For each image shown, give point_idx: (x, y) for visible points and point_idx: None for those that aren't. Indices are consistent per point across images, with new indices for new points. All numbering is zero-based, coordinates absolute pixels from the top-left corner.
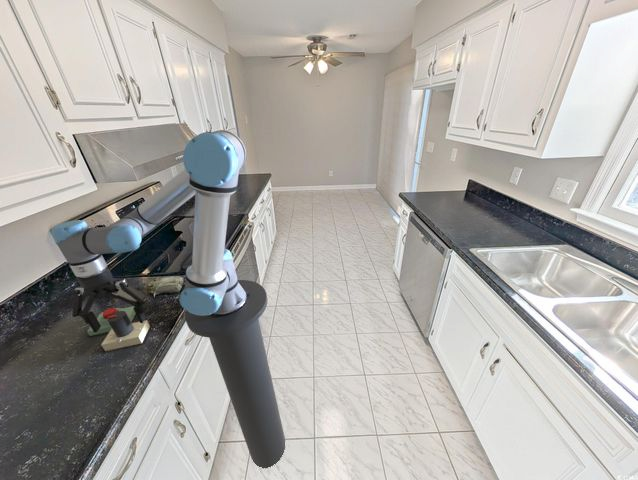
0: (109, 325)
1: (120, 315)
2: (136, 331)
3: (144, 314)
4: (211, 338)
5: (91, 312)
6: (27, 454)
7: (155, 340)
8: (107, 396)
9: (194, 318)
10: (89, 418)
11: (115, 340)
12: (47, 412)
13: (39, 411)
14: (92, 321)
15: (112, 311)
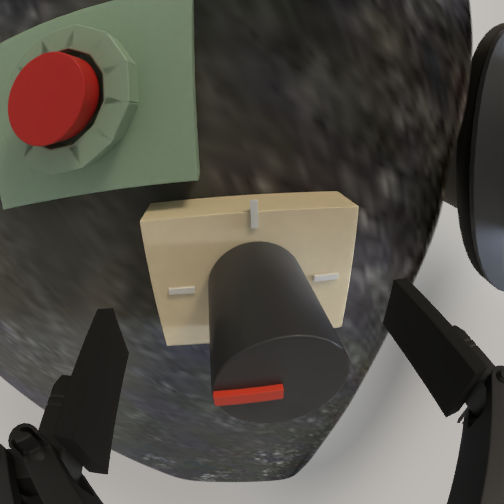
0: (94, 177)
1: (313, 382)
2: (322, 293)
3: (420, 294)
4: (448, 190)
5: (82, 448)
6: (192, 472)
7: (376, 293)
8: (281, 431)
9: (494, 212)
10: (265, 453)
11: None
12: (158, 442)
13: (136, 437)
14: (110, 413)
15: (69, 101)
